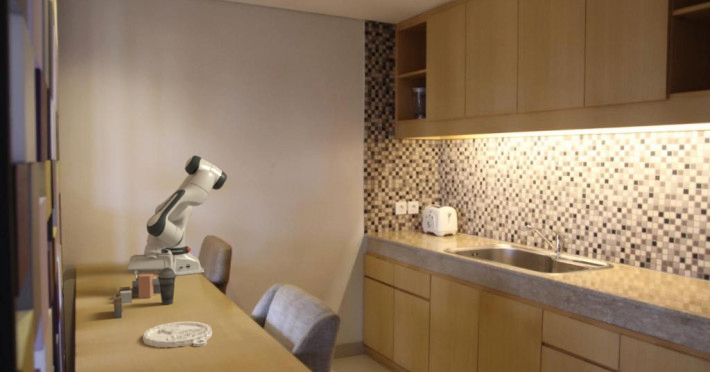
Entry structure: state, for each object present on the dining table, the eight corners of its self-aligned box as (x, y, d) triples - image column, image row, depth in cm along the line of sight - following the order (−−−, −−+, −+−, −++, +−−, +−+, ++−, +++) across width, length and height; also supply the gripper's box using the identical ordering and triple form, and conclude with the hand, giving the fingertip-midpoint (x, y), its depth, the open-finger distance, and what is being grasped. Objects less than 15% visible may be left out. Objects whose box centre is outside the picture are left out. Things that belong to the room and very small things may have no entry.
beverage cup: (170, 306, 241) (169, 259, 240) (155, 305, 243) (154, 259, 242) (179, 301, 248) (178, 256, 247) (164, 300, 250) (163, 255, 249)
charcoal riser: (161, 286, 276) (160, 278, 276) (162, 292, 264) (162, 284, 264) (132, 289, 271) (132, 280, 271) (133, 295, 259) (132, 286, 259)
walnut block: (130, 296, 258) (129, 286, 258) (130, 298, 254) (130, 288, 254) (119, 297, 256) (119, 287, 256) (119, 299, 252) (119, 289, 252)
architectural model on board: (122, 318, 224) (122, 294, 224) (114, 319, 223) (113, 295, 223) (123, 311, 235) (122, 288, 234) (115, 312, 234) (114, 288, 233)
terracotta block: (142, 295, 259) (141, 274, 259) (153, 295, 259) (153, 273, 259) (138, 298, 254) (138, 276, 254) (150, 298, 254) (149, 276, 254)
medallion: (187, 323, 218) (187, 317, 218) (231, 338, 201) (231, 331, 201) (130, 339, 200) (129, 332, 200) (173, 356, 183) (173, 349, 183)
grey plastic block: (131, 300, 251) (131, 290, 251) (131, 302, 247) (131, 292, 247) (120, 301, 250) (120, 291, 249) (120, 303, 246) (120, 293, 245)
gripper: (129, 251, 264) (122, 276, 255) (174, 250, 265) (169, 275, 256) (132, 258, 268) (126, 284, 259) (176, 258, 270) (171, 283, 261)
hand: (147, 279), depth 258 cm, fingers open, 8 cm apart
